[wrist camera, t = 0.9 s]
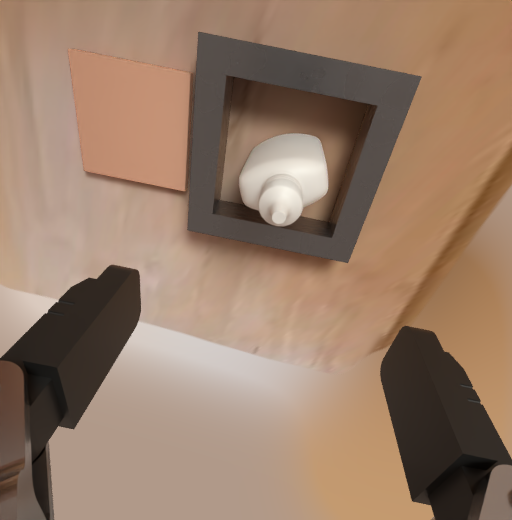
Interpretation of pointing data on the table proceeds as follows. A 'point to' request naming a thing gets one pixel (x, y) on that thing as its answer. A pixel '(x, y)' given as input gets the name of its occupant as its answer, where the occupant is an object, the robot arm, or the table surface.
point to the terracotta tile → (133, 118)
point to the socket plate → (306, 79)
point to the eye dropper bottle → (284, 177)
